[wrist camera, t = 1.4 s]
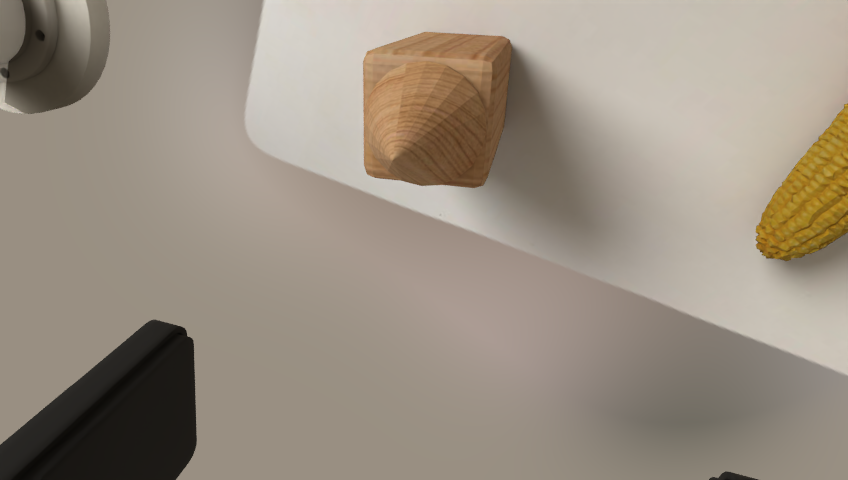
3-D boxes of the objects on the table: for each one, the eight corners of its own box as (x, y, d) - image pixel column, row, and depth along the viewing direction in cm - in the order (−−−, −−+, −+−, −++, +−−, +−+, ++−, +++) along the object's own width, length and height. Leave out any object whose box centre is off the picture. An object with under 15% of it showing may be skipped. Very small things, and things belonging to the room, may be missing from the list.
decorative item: (503, 133, 40) (468, 248, 22) (414, 125, 41) (311, 229, 23) (513, 36, 37) (482, 77, 19) (417, 30, 38) (303, 65, 20)
